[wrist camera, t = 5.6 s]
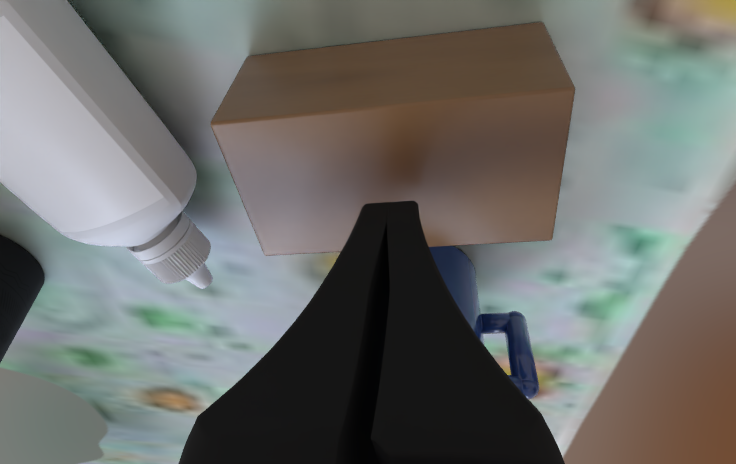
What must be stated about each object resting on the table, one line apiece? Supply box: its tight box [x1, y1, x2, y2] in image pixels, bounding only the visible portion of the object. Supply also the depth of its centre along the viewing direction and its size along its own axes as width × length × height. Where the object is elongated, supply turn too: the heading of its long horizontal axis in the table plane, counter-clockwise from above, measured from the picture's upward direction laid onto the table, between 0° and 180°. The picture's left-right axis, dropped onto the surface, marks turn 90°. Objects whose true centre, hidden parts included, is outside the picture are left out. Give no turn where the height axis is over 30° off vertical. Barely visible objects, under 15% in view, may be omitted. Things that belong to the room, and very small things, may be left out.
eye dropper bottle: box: [0, 0, 213, 289], centre depth 17 cm, size 4×6×12 cm
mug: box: [429, 246, 539, 399], centre depth 19 cm, size 9×7×10 cm
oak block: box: [211, 22, 575, 256], centre depth 15 cm, size 5×9×4 cm, turn 98°
